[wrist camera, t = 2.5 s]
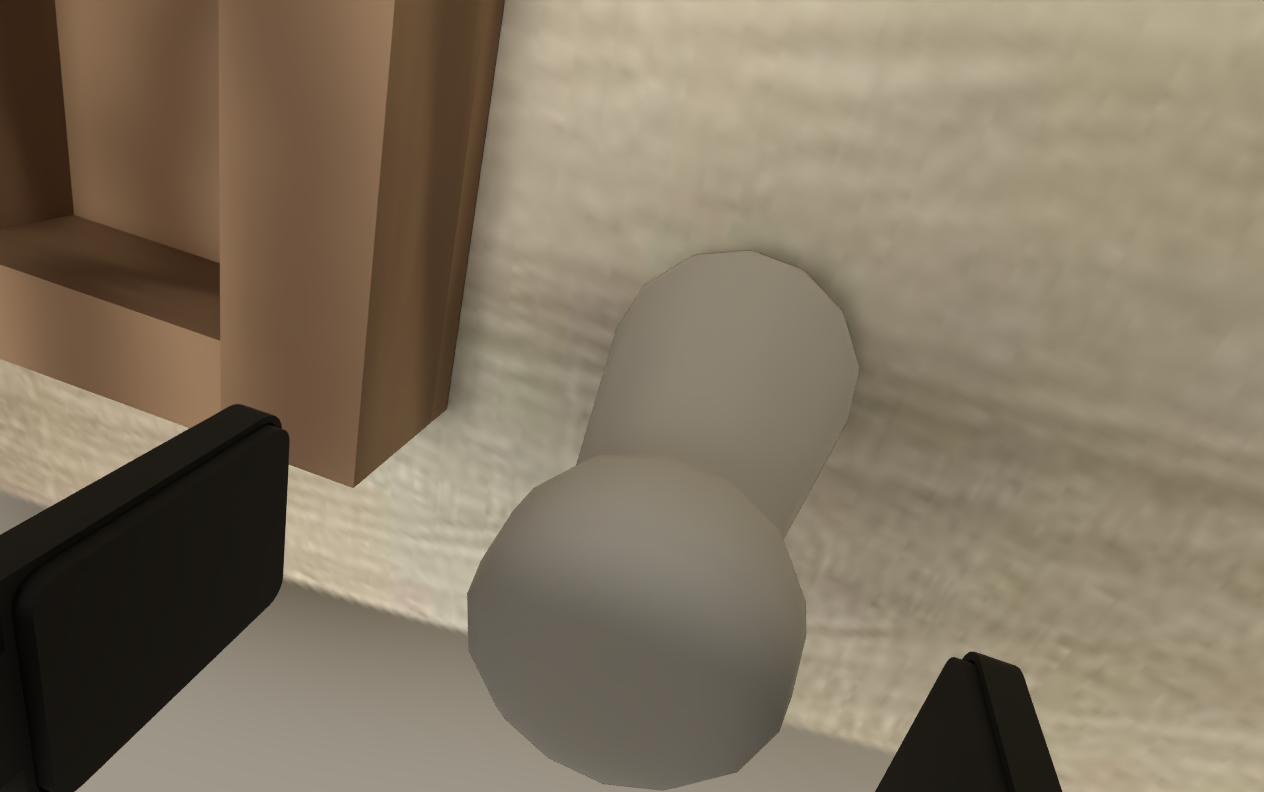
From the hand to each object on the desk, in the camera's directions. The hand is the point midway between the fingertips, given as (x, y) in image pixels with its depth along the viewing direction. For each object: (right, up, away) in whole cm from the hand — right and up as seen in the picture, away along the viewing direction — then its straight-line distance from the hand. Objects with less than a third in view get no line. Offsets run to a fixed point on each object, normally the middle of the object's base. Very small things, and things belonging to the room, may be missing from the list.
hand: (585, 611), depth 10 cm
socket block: (-11, +11, +11) cm, 19 cm away
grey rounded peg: (+4, +4, +10) cm, 12 cm away
